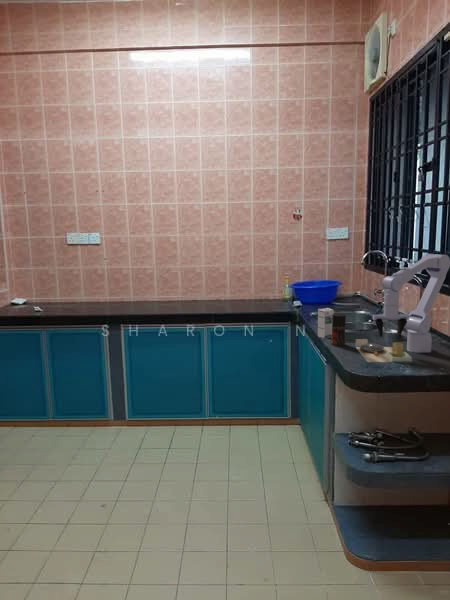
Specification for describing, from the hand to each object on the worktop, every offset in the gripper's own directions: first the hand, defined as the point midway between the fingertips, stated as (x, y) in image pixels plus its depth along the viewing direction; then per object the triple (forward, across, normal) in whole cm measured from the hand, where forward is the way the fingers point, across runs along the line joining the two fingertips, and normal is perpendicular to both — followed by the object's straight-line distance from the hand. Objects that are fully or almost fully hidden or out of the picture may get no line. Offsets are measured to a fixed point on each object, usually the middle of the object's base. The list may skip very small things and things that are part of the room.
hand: (389, 336), depth 186 cm
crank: (+8, +7, -5) cm, 11 cm away
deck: (+9, +3, -1) cm, 9 cm away
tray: (+8, -2, +6) cm, 11 cm away
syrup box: (+9, +21, -33) cm, 40 cm away
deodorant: (+9, +18, -16) cm, 26 cm away
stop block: (+8, -2, +6) cm, 10 cm away
